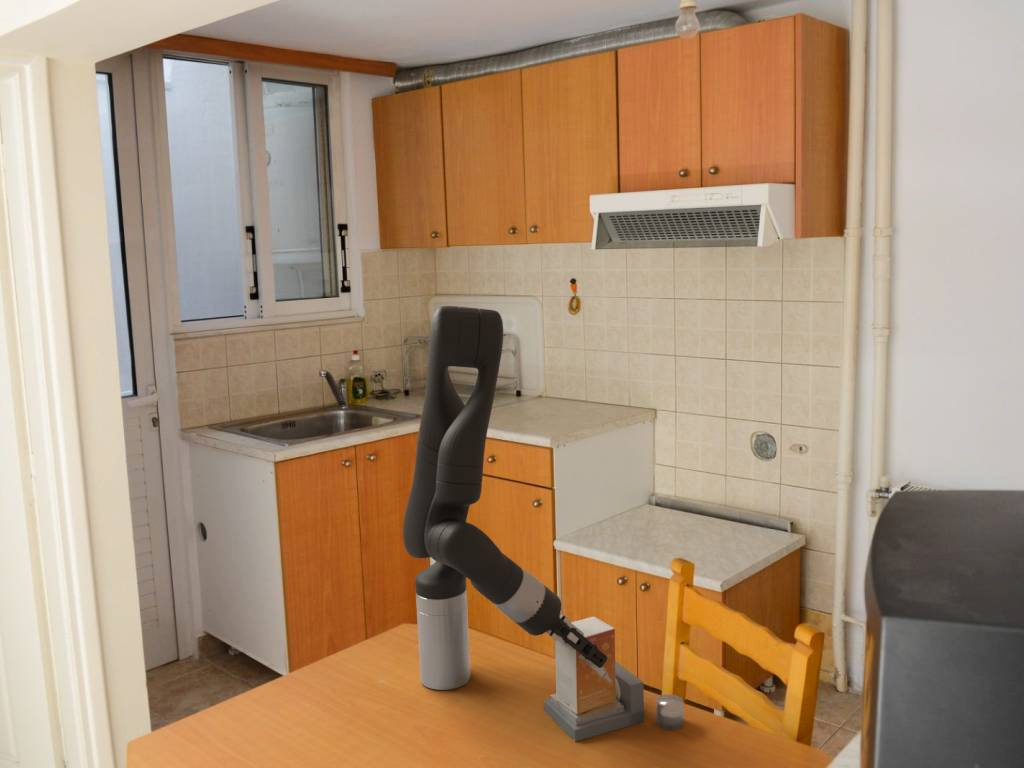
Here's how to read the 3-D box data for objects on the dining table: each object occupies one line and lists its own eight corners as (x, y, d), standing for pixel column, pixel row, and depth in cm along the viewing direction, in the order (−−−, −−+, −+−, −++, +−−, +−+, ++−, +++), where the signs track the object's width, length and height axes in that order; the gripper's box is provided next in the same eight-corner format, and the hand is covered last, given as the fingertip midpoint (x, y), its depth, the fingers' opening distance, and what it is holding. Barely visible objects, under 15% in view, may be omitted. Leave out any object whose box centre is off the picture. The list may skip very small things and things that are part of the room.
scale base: (544, 711, 161) (542, 673, 159) (609, 693, 166) (608, 656, 165) (575, 741, 151) (573, 701, 150) (643, 721, 156) (643, 682, 155)
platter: (550, 701, 160) (550, 695, 159) (596, 689, 163) (596, 682, 163) (575, 725, 152) (575, 718, 151) (623, 712, 155) (623, 705, 155)
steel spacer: (651, 720, 156) (651, 698, 156) (673, 714, 158) (673, 692, 157) (666, 733, 152) (666, 710, 152) (689, 726, 154) (689, 703, 154)
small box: (577, 716, 152) (575, 640, 150) (555, 700, 158) (553, 626, 156) (617, 701, 156) (615, 627, 154) (594, 686, 162) (592, 615, 160)
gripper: (561, 596, 144) (626, 650, 151) (521, 568, 157) (582, 619, 163) (531, 636, 143) (598, 689, 149) (493, 604, 156) (556, 654, 162)
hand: (590, 652), depth 156 cm, fingers open, 8 cm apart
